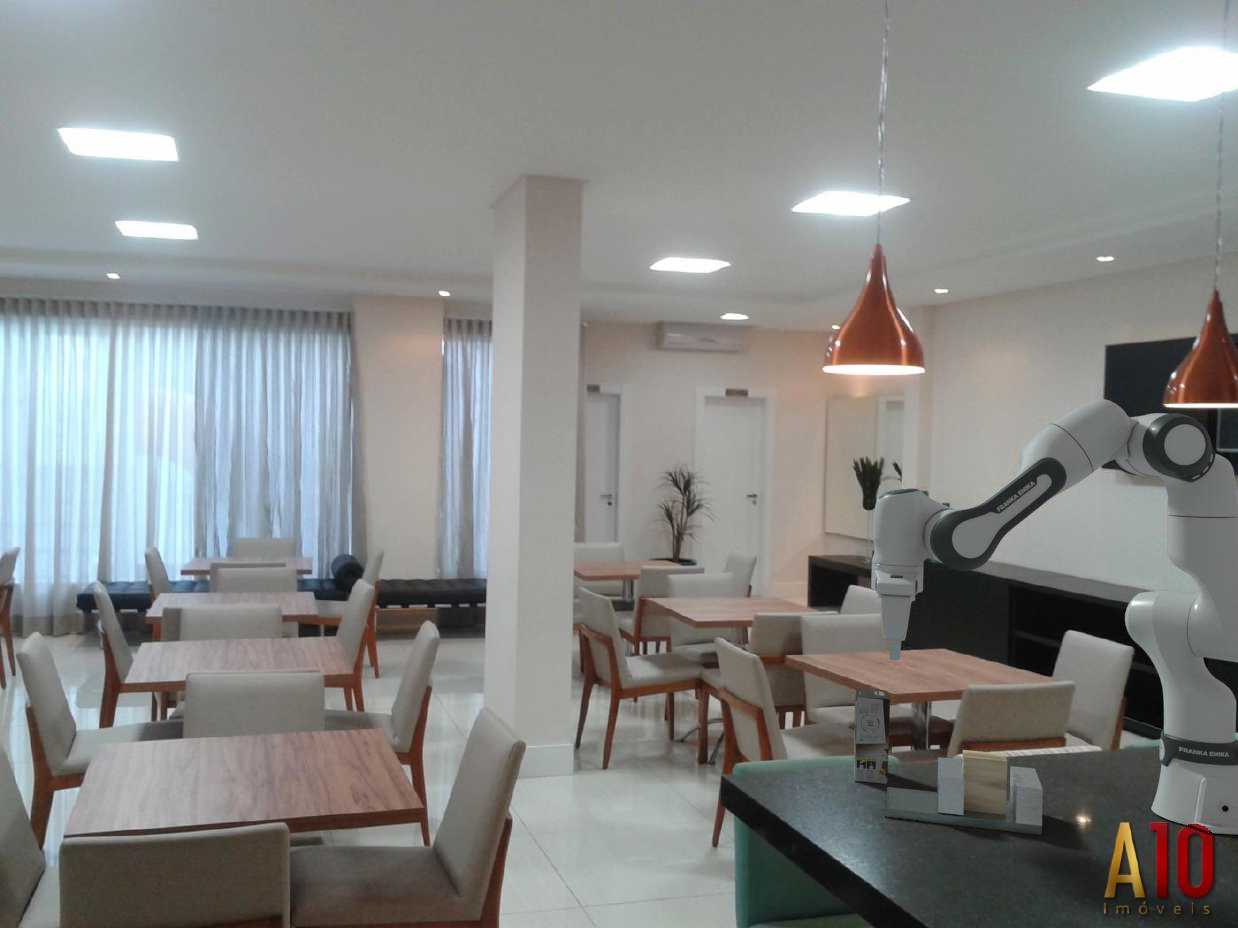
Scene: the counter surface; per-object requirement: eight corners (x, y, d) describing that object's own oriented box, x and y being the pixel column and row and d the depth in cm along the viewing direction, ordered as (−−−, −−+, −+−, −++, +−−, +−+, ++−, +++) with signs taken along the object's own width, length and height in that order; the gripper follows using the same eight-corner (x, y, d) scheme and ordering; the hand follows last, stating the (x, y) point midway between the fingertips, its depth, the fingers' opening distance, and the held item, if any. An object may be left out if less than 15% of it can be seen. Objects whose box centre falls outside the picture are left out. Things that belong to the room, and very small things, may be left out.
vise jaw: (960, 792, 190) (961, 759, 190) (963, 814, 177) (964, 778, 177) (937, 790, 191) (938, 757, 191) (938, 812, 178) (939, 776, 178)
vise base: (1033, 811, 186) (1034, 768, 186) (1041, 834, 174) (1042, 788, 174) (887, 795, 193) (888, 753, 193) (884, 816, 181) (885, 772, 181)
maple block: (961, 801, 186) (962, 749, 186) (1003, 805, 184) (1005, 753, 184) (962, 809, 181) (963, 756, 181) (1005, 814, 179) (1007, 761, 179)
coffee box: (888, 784, 200) (890, 698, 200) (853, 781, 201) (856, 696, 202) (886, 771, 209) (888, 689, 209) (852, 768, 210) (855, 687, 210)
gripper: (880, 574, 198) (878, 648, 198) (876, 584, 178) (874, 667, 178) (915, 576, 196) (913, 651, 196) (915, 586, 176) (913, 670, 176)
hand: (894, 658), depth 187 cm, fingers closed
